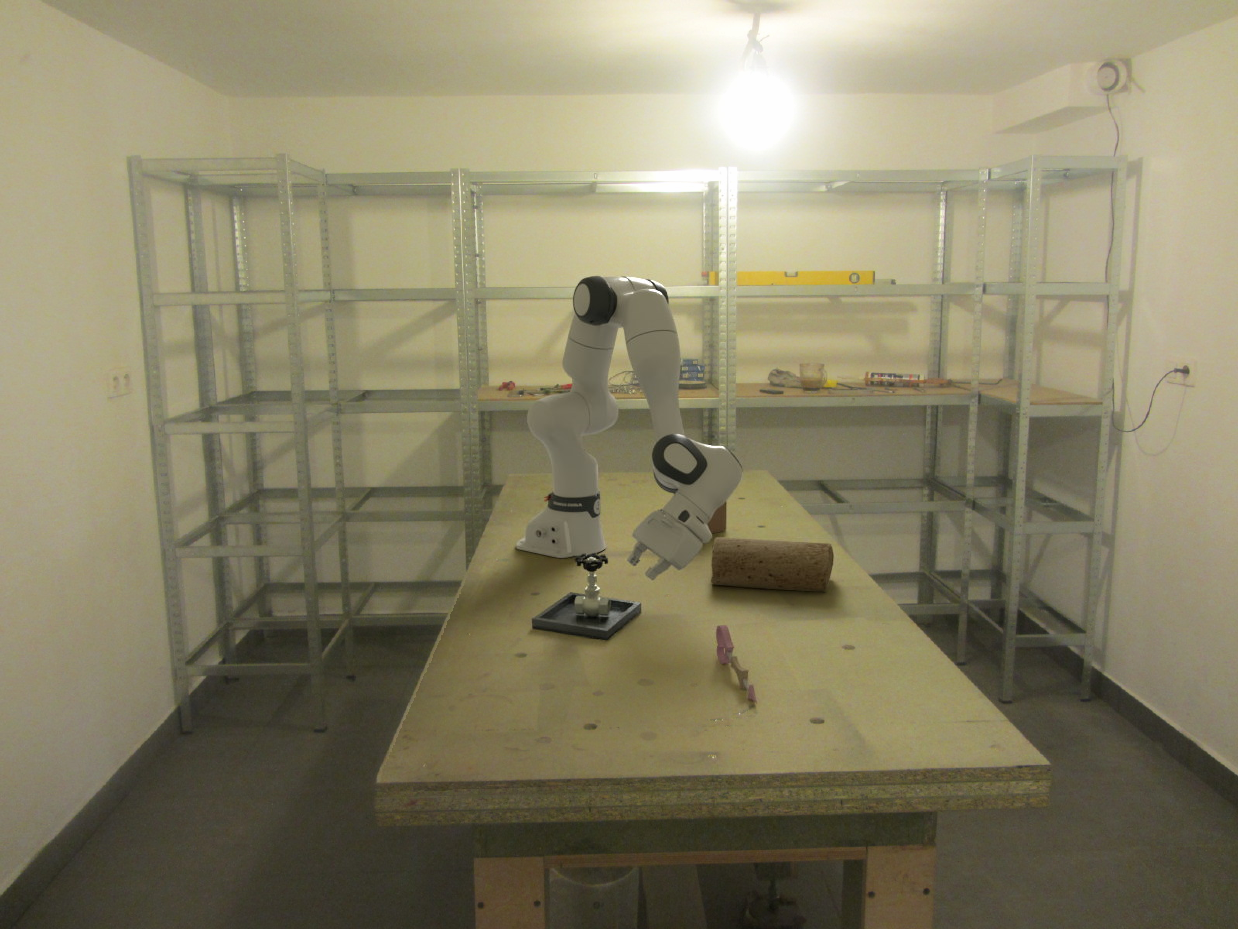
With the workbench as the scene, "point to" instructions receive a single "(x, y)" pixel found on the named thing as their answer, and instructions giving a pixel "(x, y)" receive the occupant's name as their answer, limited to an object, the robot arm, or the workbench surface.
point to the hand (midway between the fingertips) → (639, 570)
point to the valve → (592, 588)
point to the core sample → (771, 564)
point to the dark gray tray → (586, 618)
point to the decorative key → (732, 659)
